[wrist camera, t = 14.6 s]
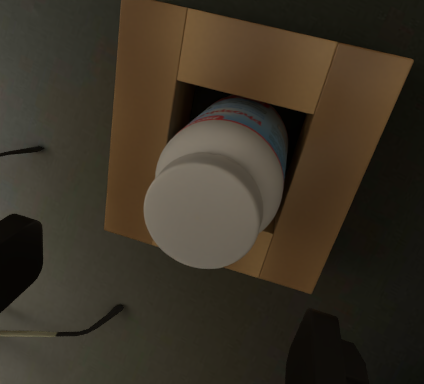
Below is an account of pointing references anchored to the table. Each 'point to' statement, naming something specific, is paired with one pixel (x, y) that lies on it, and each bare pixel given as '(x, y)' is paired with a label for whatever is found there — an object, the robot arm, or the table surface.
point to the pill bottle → (218, 183)
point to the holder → (261, 91)
